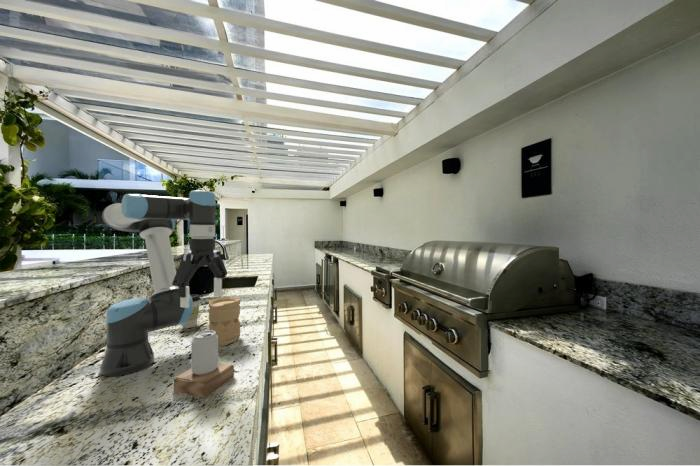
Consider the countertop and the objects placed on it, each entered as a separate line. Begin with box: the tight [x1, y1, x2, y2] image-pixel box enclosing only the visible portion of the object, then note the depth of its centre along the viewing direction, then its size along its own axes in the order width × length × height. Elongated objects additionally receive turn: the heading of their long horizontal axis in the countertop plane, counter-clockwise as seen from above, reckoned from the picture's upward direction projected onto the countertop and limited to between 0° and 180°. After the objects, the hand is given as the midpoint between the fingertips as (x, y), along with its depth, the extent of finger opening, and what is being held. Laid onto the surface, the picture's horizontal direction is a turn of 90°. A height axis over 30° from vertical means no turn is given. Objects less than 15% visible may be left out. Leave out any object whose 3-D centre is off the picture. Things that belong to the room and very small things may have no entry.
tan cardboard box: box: [173, 361, 235, 399], centre depth 87 cm, size 12×12×4 cm
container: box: [208, 296, 241, 348], centre depth 121 cm, size 13×13×18 cm
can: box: [190, 329, 219, 375], centre depth 87 cm, size 8×8×12 cm
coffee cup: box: [181, 294, 201, 329], centre depth 140 cm, size 10×10×15 cm
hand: (202, 301), depth 91 cm, fingers open, 13 cm apart
